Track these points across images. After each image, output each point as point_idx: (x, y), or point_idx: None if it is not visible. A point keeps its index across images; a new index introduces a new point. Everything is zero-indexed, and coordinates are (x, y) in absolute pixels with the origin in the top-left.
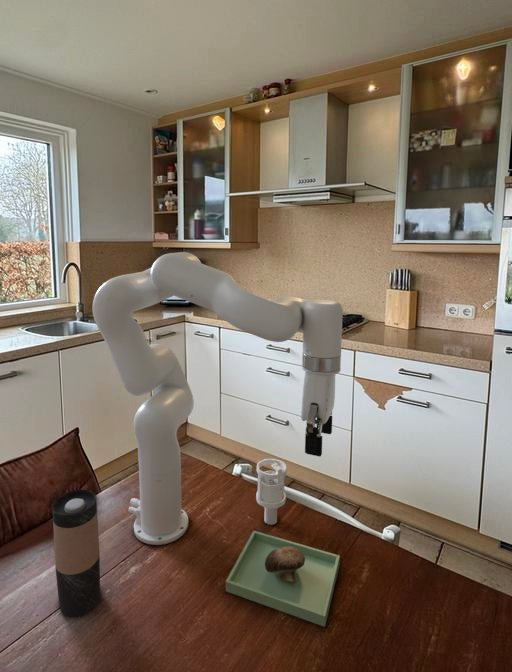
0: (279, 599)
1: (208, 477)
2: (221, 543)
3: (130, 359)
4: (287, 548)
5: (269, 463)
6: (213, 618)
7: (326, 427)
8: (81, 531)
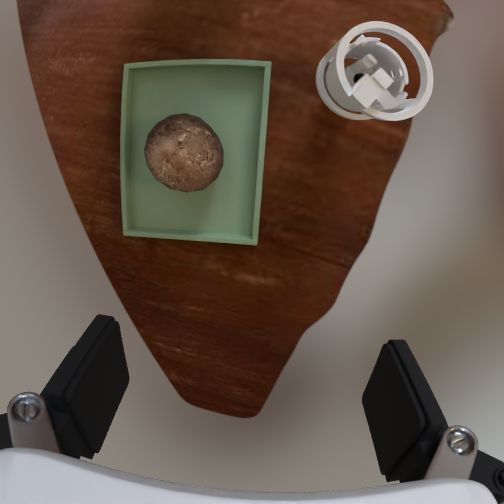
0: (121, 161)
1: None
2: (236, 13)
3: None
4: (184, 158)
5: (418, 62)
6: (85, 75)
7: (376, 409)
8: None
